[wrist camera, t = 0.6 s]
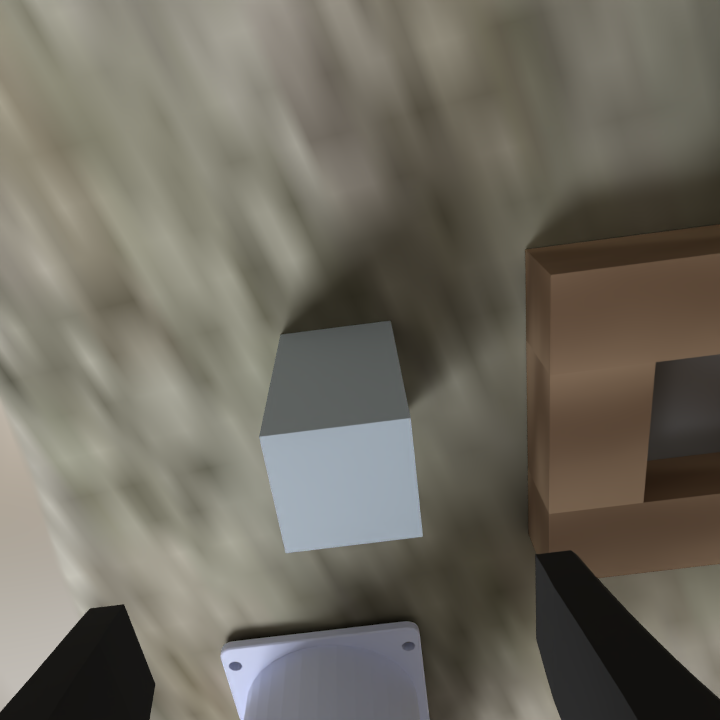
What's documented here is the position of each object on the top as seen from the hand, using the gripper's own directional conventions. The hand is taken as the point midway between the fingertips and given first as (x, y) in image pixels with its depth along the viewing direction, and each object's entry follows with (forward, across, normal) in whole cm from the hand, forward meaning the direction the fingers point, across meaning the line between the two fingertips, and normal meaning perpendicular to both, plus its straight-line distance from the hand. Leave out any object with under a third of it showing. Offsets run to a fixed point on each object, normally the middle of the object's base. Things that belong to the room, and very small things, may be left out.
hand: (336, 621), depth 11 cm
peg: (+10, 0, 0) cm, 10 cm away
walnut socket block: (+10, -12, +2) cm, 16 cm away
